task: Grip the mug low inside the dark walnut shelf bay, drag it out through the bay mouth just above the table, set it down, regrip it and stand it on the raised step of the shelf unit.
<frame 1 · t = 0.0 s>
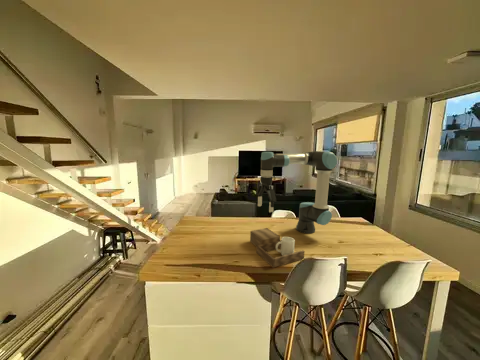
hand: (265, 208, 140), 28 cm above the table, fingers open, 13 cm apart
mug: (284, 254, 138), on the table
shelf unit: (274, 252, 141), on the table
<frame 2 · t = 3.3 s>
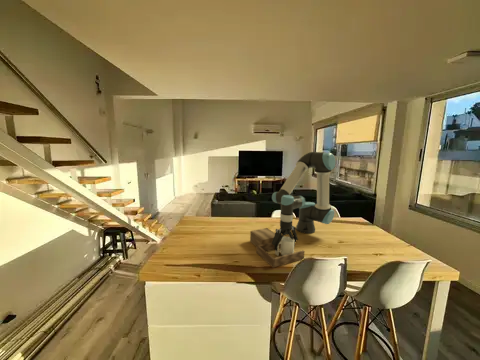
hand: (284, 252, 138), 1 cm above the table, fingers closed on mug, 11 cm apart
mug: (284, 254, 138), on the table, touching gripper
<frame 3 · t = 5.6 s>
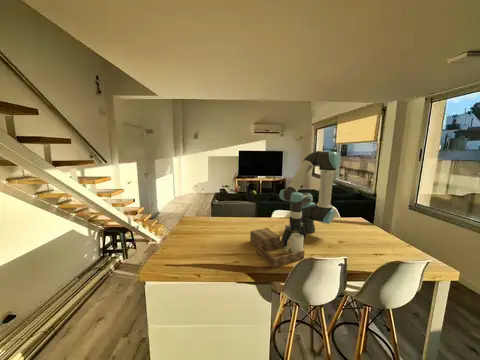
hand: (293, 248, 141), 2 cm above the table, fingers closed on mug, 11 cm apart
mug: (293, 250, 142), point 1 cm above the table, touching gripper
when the fingers open (2 cm above the table, at t = 8.0 s): mug stays where it is, on the table.
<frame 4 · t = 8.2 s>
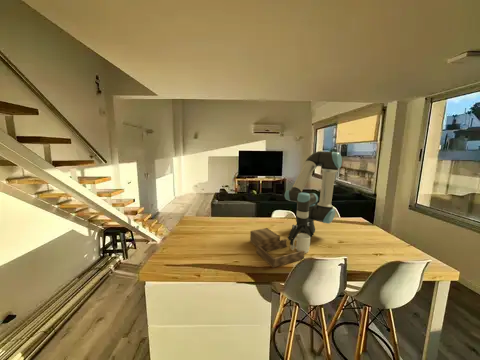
hand: (300, 247, 144), 2 cm above the table, fingers open, 13 cm apart
mug: (299, 250, 144), on the table
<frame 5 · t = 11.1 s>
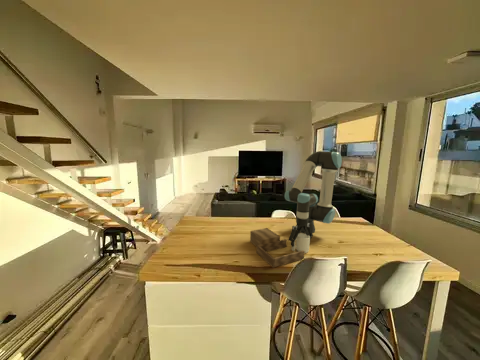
hand: (300, 248, 144), 1 cm above the table, fingers closed on mug, 11 cm apart
mug: (299, 250, 144), on the table, touching gripper
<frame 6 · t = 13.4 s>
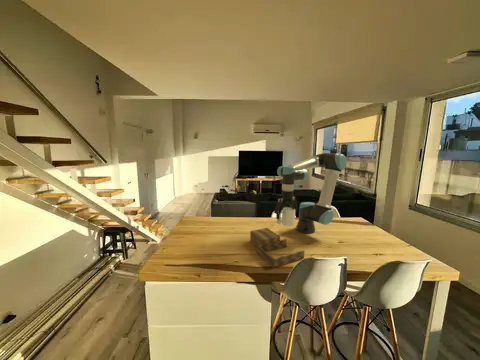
hand: (285, 222, 144), 18 cm above the table, fingers closed on mug, 11 cm apart
mug: (285, 224, 144), point 17 cm above the table, touching gripper
when the fingers open (11 cm above the table, at t = 16.0 s): mug drops 1 cm, resting on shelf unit.
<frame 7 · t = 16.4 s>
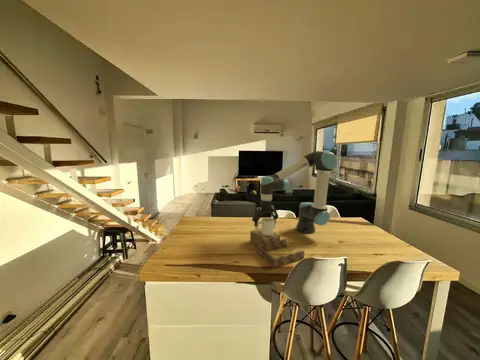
hand: (265, 229, 150), 11 cm above the table, fingers open, 13 cm apart
mug: (264, 233, 150), point 8 cm above the table, touching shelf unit
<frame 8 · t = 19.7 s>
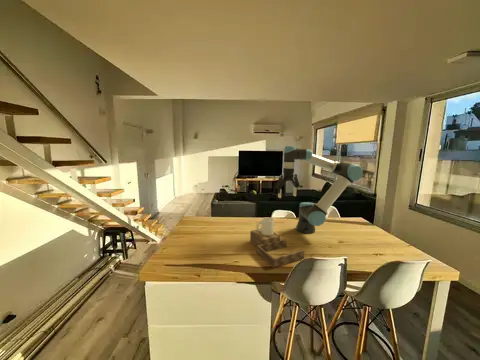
hand: (287, 196, 158), 32 cm above the table, fingers open, 13 cm apart
nothing on the table moved.
at the end: mug inside the target area (0.3 cm from its centre), point 7.8 cm above the table; mug tilted 0°; the gripper is holding nothing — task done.
